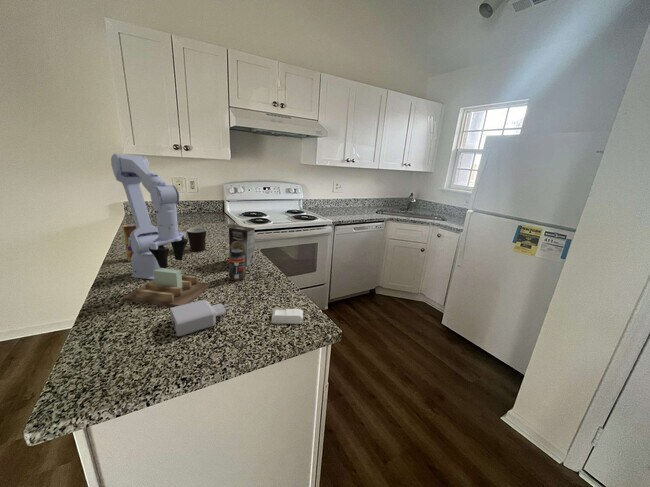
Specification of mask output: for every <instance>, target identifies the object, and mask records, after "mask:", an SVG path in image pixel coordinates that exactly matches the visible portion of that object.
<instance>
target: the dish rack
mask: <svg viewBox="0 0 650 487" xmlns="http://www.w3.org/2000/svg"><path fill="white" fill-rule="evenodd" d="M182 286H183V290H182V288H179V287H171V286H163V285H155V282H154V280H153V279H151V281H149V282H147V283H145V284H143V285H142V286H140V287H138V288H136V289H133V291H131V292H129V293H127V294H125V295H124V296H122V297H121V298H122V299H121V300H122V301H126V302H132V303H141V304H146V305H155V306H162V307H169V308H172V307H176V306H180V305H185V304H189V303H192V302H194V300H195V299H197V297H199V296H200V295H201V294H203V293H204V292H205V291H206V290H207V289H209V288H210V287H212V286H211V283H210V282H209V283H208V282H202V281H201V282H200V281H199V277H198V276H193V275H185V274H182Z"/></svg>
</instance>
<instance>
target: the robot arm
mask: <svg viewBox="0 0 650 487" xmlns="http://www.w3.org/2000/svg"><path fill="white" fill-rule="evenodd" d="M110 164H111V168H112V172H113V175H114V177H115V179H116V181H117V182H119V183H121V184H122V186H123V189H124V192H125V195H126V198H127V202H128V204H129V208H130V211H131V215H132V218H133V220H134V221H133V222H134V224H135V225H136V229H135V230H134V231H133V232H132V233H131V234H130V241H131V242H130V243H131V248H132V250H133V252H134V254H133V255H132V257H131V261H130V263H131V270H132V274H131V276H130V277H132V278H137V279H146V280H154V273H153V270H155V269H157V268H165V269H168V255H169V252H170V248H168V247H167V248H166V245H169V244H170V245H171V246H172V250H173V255H174V259H175V261H176V260H177V261H183V257H184V253H185V249H186V246H187V244H188V243H189V239H188V238H187V235H186V234H187V231H179V223H178V212H177V211H178V210H177V204H178V203H179V202H180V193H179V190H178V189H177V187H176V185H170V184H168V183H167V182H166V181H165V180H164V179H163V178H162V177H161V176H160V175H159V174H158V173H157V172H153V171H152V170H151V169H150V163H149V160H148V158H147V157H146V156H145V155H143V154H141V155H136V154H135V155H134V154H121V153H120V154H119V153H118V154H117V153H113V154H112V155H111V157H110ZM140 184H142V186H143V187H144V188H145V189H146V191H147V192H148V193H149V195H150V199H151V202H152V206H153V209H154V211H155V216H156V225H157V227H156V226H154V225H152V221H151V217H150V215H149V211H148V208H147V205H146V202H145V197H144V195H143V191H142V188H141V185H140ZM143 235H146V236H143ZM137 236H139V237H137Z"/></svg>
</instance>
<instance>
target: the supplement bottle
mask: <svg viewBox="0 0 650 487" xmlns="http://www.w3.org/2000/svg"><path fill="white" fill-rule="evenodd" d="M231 254H232V255H231V256H230V255H229V257H228V276H229V279H230V280H232V281H237V282H238V281H243V280H244V279H245V277H246V266H245V256H244V255H243V253H242V250H240V249H234V250H232V251H231Z"/></svg>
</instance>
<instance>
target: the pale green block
mask: <svg viewBox="0 0 650 487" xmlns="http://www.w3.org/2000/svg"><path fill="white" fill-rule="evenodd" d="M153 273H154V282H155V285H163V286H171V287H179V288H182V290H183V286H182V275H183V273H182V270H180V269H179V270H178V269H171V268H157V269H155V270H153Z"/></svg>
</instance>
